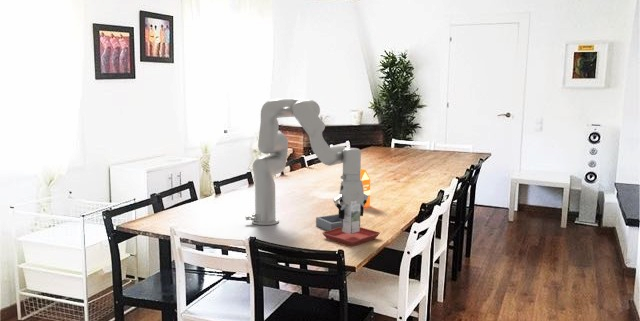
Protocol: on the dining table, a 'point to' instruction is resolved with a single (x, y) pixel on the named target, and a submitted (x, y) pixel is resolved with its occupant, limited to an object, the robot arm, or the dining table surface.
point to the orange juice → (366, 185)
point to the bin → (329, 222)
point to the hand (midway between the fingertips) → (351, 216)
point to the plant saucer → (351, 236)
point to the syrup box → (351, 218)
